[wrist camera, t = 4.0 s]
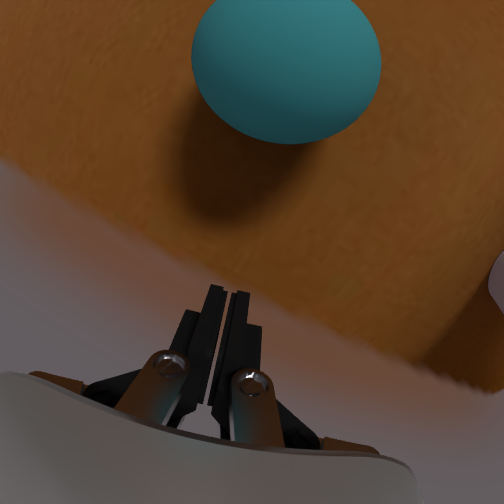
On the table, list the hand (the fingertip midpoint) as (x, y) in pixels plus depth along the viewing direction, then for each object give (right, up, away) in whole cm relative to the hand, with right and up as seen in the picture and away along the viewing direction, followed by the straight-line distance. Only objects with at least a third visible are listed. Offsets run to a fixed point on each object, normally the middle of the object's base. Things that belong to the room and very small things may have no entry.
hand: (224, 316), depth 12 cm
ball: (+2, +8, -5) cm, 10 cm away
